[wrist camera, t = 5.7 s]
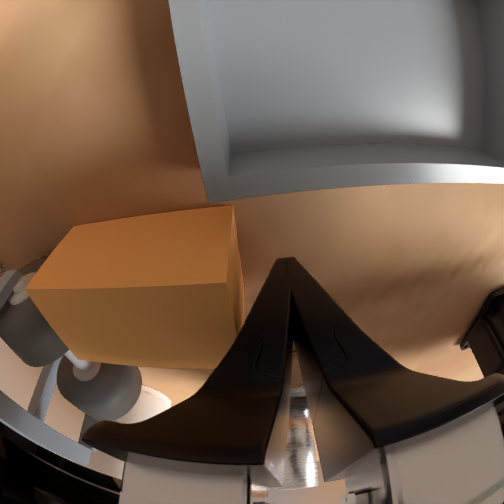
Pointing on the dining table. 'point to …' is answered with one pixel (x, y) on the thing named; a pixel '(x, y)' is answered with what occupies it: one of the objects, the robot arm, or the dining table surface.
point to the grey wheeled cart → (57, 372)
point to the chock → (146, 289)
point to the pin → (299, 448)
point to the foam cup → (142, 410)
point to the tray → (342, 92)
